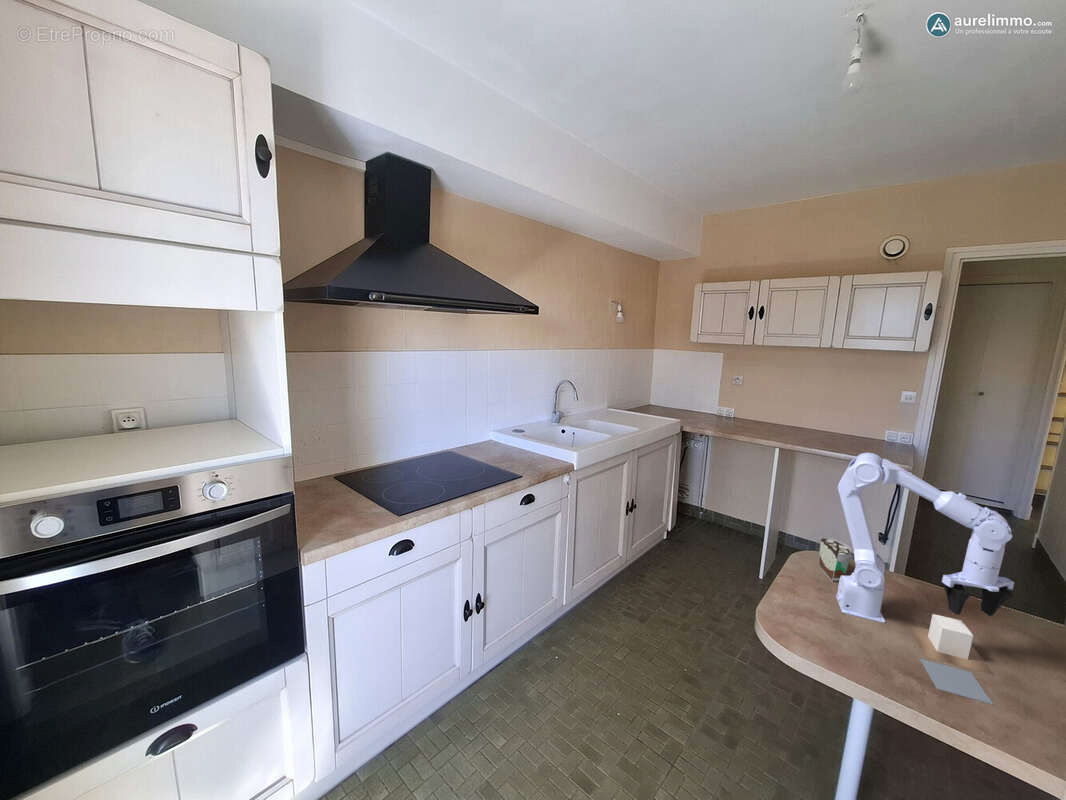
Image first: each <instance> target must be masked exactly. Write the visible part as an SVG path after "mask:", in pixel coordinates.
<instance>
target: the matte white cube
mask: <svg viewBox="0 0 1066 800" xmlns="http://www.w3.org/2000/svg"><path fill="white" fill-rule="evenodd" d="M928 630H929V633H928V638H929V639H930V641H931V642H932V644H933V645H934V647H935V649H936V650H937V652H940V653H944V654H948V655H952V656H956V657H960V658H964V659H968V656H969V652H970V647H971V645H972V643H973V638H974V634H973V633H972V631H970V629H969V628H968V627H967V626H966V624H965V623H964V621H963V620H961V619H956V618H952V617H947V616H943V615H939V614H934V613H932V615H931V620H930V625H929V629H928Z"/></svg>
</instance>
